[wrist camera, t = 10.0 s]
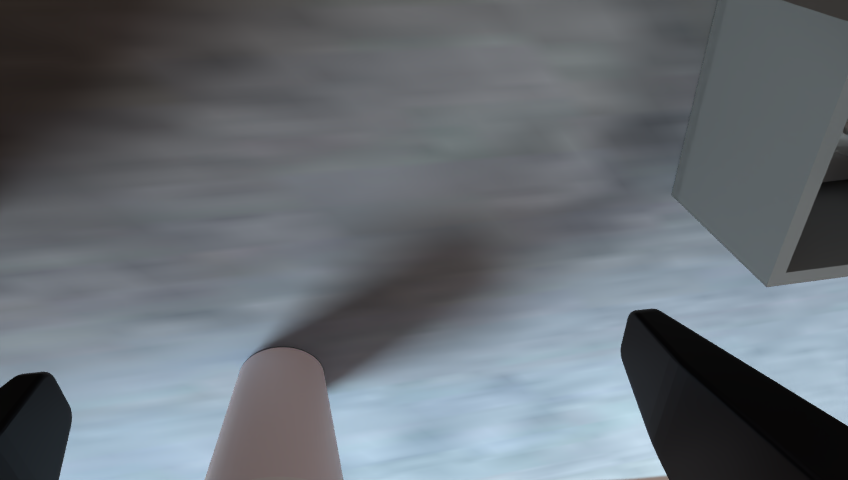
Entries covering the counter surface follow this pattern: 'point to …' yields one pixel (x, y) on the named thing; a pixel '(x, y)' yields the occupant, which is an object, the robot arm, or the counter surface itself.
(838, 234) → the grey open box
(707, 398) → the robot arm
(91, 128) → the counter surface
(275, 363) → the smoothie
